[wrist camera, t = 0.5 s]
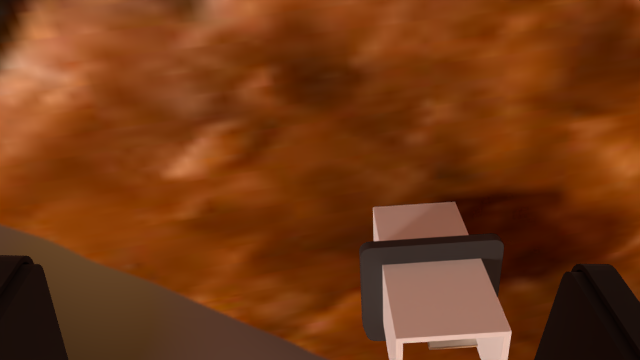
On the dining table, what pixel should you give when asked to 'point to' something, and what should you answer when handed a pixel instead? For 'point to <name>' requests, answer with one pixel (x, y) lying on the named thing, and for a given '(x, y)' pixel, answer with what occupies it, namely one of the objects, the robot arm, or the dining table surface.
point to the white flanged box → (432, 282)
